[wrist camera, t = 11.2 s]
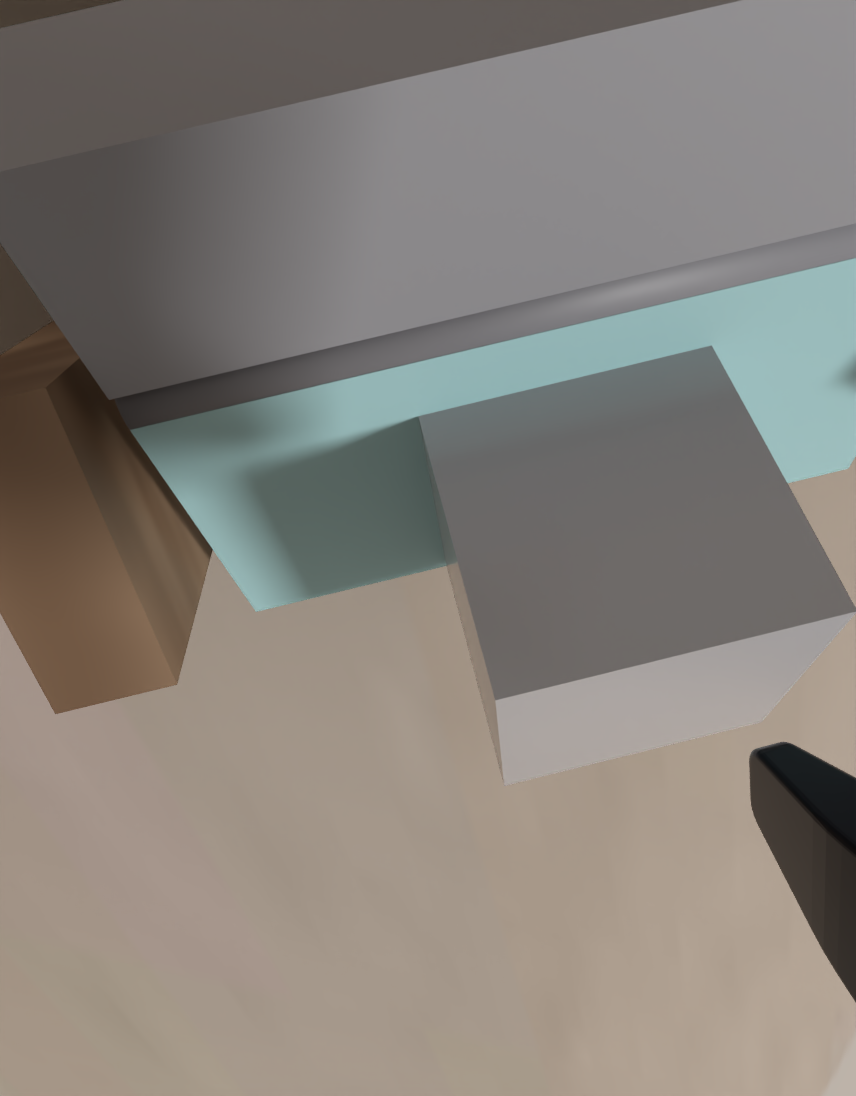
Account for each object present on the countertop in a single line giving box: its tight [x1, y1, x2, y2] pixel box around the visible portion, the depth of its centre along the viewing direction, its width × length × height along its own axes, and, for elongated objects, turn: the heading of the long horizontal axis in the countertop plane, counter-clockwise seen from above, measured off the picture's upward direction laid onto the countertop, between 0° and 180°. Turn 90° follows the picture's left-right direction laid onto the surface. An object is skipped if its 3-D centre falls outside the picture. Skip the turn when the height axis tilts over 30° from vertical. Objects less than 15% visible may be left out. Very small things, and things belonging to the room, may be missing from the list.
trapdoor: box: [0, 0, 856, 612], centre depth 14 cm, size 14×11×3 cm
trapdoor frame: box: [0, 321, 213, 714], centre depth 15 cm, size 20×5×8 cm, turn 102°
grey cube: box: [418, 345, 856, 786], centre depth 14 cm, size 5×5×5 cm
